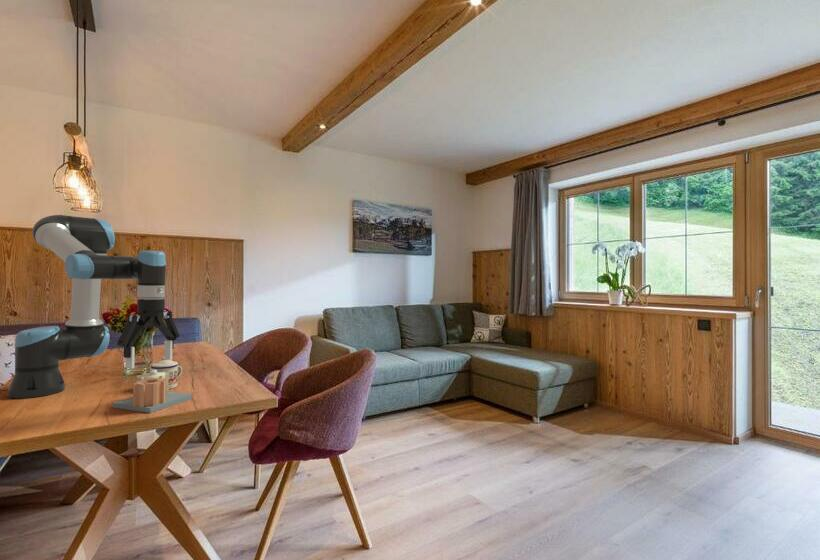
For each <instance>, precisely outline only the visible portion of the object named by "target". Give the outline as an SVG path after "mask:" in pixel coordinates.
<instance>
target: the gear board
mask: <svg viewBox="0 0 820 560" xmlns="http://www.w3.org/2000/svg"><path fill="white" fill-rule="evenodd" d="M168 374H169V373H166V372H157V370H151V369H150V370H149V372H148V373H146V372H143V373H141V375H137V376H136V381H141V380H143V379H154V378H159V379H166V400H165V403H160V404H157V405H156V406H145V407H140V406H133V396H132V397H128V398H125V399H121V400H117V401H114V402H112V408H114V409H119V410H120V409H121V410H128V411H134V412H140V413H141V412H142V413H147V414H152V413H155V412H158V411H160V409H161V410H163V408H164V409H166V408H169V407H172V406H175V405H177V404H181V403H183V402H187V401H189V400H192V399H193V394H192V393H184V392H176V391H169V389H168ZM154 411H155V412H154Z"/></svg>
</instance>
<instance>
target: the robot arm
mask: <svg viewBox="0 0 820 560" xmlns="http://www.w3.org/2000/svg"><path fill="white" fill-rule="evenodd" d="M31 234H32V235H31V236H32V238H33V239H34V241H35V242H36V243H37V244H38V245H40V247H42V248H44V249H48V250H51V252H53V253H54V254H55V255H56V256H58V258H60V259H61V260H62V261H63V262H64V271H65V272H66V276H67V277H69V278H70V279H72V284H71V285H72V286H71V289H72V290H71V303H70V305H71V306H70V307H71V309H70V319H69V320H67V322H65V325H64V328H60V326H59V325H48V326H47V325H46V326H38V327H33V328H28V329H24V330H21V331H19V332H18V333H17V334H16V335H15V341H14V344H13V345H14V375H13V377H12V380H11V382H10V384H9V387H8V389H7V398H10V399H29V398H39V397H43V396H44V397H46V396H50V395H53V394H57V393H60V392H62V391H64V390H65V389H66V383H65V380H64V378H63V376H62V373H61V371H60V366H59V365H60V361H65V360H74V359H81V358H82V359H83V358H90V357H96V356H99V355H102V354H103V353H104V352H105V351H106V350H107V349H108V346H109V344H110V336H111V335H110V333H109V332H110V330H109V328H108V327H107V326H105V325H104V321H103V320H101V319H100V307H101V306H100V304H101V287H102V286H101V285H102V280H137V292H136V293H137V294H136V295H137V298H138V299H137V301H136V304H137V305H136V306H137V307H136V310H137V312H138V314H128V315H127V322H126V324H125V326H124V328H123V330H122V332H121V333H120V336H119V339H118V341H117V343H116V345H117V346H118V347H122V348H123V358H124V359H125V362H124V363H125V368H126V369H135V355H136V354H135V352H136V351H135V350H136V349H135V346H134V344H135V343H136V341H137V340H139V338H140V336H141V335H142V334H143V332H144V331H145V330H147V329H148V328H154V327H156V328H157V329H158V330H159V332H161V334H162V335H163V336H164V338H165V340H164V342H163V343H164V347H163V348H164V349H163V357H164V359H166V360H172V361H173V350H174V346H175V345H174V344H175V341H177V339H178V338H180V333H179V331H178V329H177V327H176V324H175V322H174V320H173V314H172V311H164V310H165V309H166V307H165V305H166V301H165V299H164V298H165V297H166V296H165V294H166V271H167V269H166V267H167V262H166V253H165V252H164V251H159V250H158V251H157V250H140V251H139V252H138V256H125V255H122V256H121V255H108V251H110V250H112V249H113V248H114V246H115V242H116V236H115V231H114V228H113V227H112V225H111V223H109V222H108V221H106V220H104V219H99V218H98V219H97V218H94V217H93V218H92V217H81V216H72V215H66V214H65V215H64V214H54V215H47V216H45V217H42V218H40V219H39V220H38V221H36V223H35V224H34V225H33V226H32V229H31Z"/></svg>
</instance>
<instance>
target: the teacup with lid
mask: <svg viewBox="0 0 820 560" xmlns="http://www.w3.org/2000/svg"><path fill="white" fill-rule="evenodd" d="M150 368H151V369H150V370H157V372H166V373H169V374H168V390H171V389H174V388H177V387H176V386H178V378H179V377H181V375H182V373H183V368H182V366H180V365H179V363H178V362H177V361H173V359H172V360H166V359H164V356H163V357H161V359H160V360H158V361H156V362H154V363H152V364H151V365H150Z"/></svg>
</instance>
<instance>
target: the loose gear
mask: <svg viewBox="0 0 820 560" xmlns="http://www.w3.org/2000/svg"><path fill="white" fill-rule="evenodd" d="M132 397H133V406H140V407H145V406H156V405H157V404H160V403H165V400H166V379H159V378H154V379H143V380H141V381H137V380H135V381H134V382H133V384H132Z"/></svg>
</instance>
